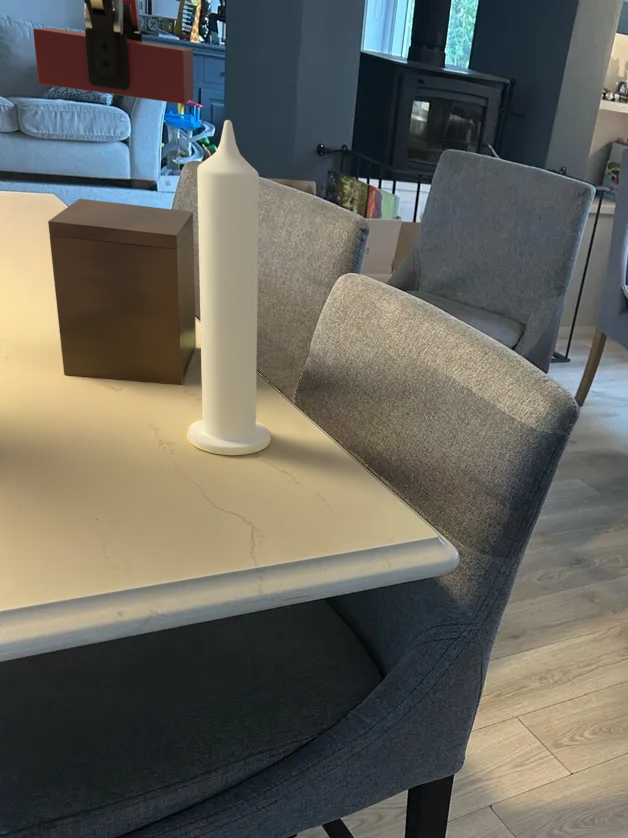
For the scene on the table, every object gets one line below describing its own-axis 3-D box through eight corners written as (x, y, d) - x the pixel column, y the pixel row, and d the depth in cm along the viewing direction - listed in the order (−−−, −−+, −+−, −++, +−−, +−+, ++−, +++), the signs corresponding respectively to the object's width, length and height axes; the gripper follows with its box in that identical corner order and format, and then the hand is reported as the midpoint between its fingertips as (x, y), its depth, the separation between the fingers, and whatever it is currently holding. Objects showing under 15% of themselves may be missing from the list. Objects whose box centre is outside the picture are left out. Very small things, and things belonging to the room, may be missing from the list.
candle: (222, 417, 82) (220, 112, 68) (286, 438, 79) (296, 127, 66) (170, 439, 76) (156, 112, 63) (237, 463, 74) (237, 128, 60)
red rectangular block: (184, 104, 77) (183, 50, 75) (38, 84, 75) (32, 28, 73) (193, 98, 82) (192, 48, 80) (57, 80, 80) (52, 28, 78)
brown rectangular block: (63, 374, 85) (47, 221, 78) (91, 337, 95) (79, 198, 88) (181, 384, 87) (176, 235, 80) (196, 347, 97) (193, 211, 90)
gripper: (77, -169, 75) (94, 74, 85) (18, -214, 61) (47, 84, 70) (168, -152, 76) (175, 85, 86) (132, -192, 62) (145, 98, 71)
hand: (117, 82), depth 78 cm, fingers closed on red rectangular block, 6 cm apart
